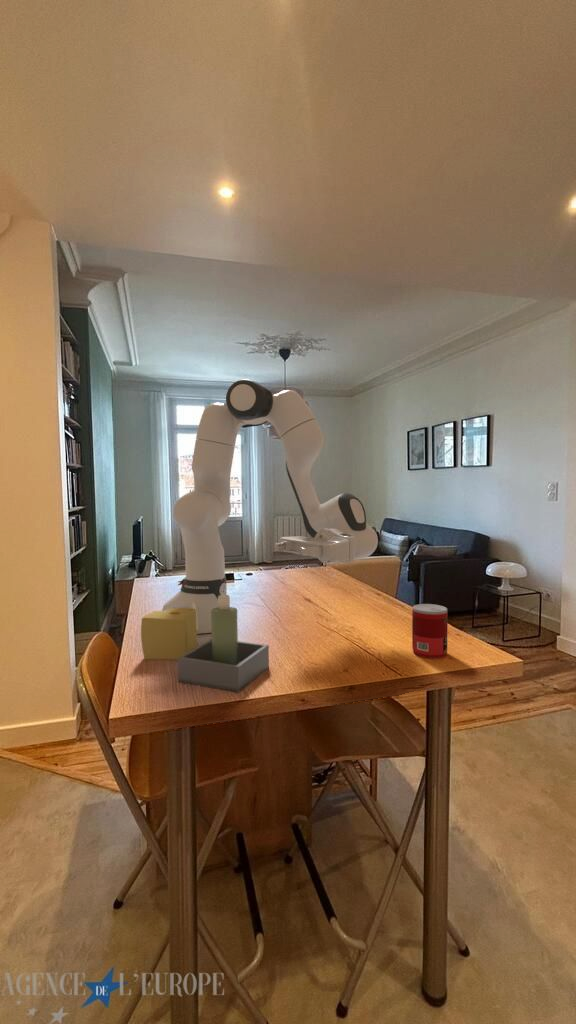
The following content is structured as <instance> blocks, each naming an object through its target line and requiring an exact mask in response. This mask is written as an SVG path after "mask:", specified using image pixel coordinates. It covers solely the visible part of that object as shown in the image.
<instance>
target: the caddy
mask: <svg viewBox="0 0 576 1024" xmlns="http://www.w3.org/2000/svg"><path fill="white" fill-rule="evenodd" d="M269 647H270V646H269V644H263V643H255V642H248V641H240V640H238V665H232V664H225V663H219V662H212V638H211V639H209V640H207V641H206V642H203V643H202V644H200V645H198V646H196V647H195V648H194V649H193V650H191V651H189V652H188V653H186V654H184V655H182V656H180V657H179V658H178V660H177V681H178V683H183V684H187V683H188V684H187V685H193V684H195V685H194V686H198V685H200V686H199V687H204V686H205V687H204V688H210V689H216V690H221V691H222V690H223V691H228V692H234V693H240V692H242V691H243V689H245V688H246V687H247V686H248V685H249V684H251V683H252V682H253V681H254V680H256V679H257V678H258V677H259V676H260V675H262V674H263V673H264V672H265V671H266V670H267V669H269V668H270V662H269V660H270V658H269V657H270V655H269V654H270V650H269V649H270V648H269Z"/></svg>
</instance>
